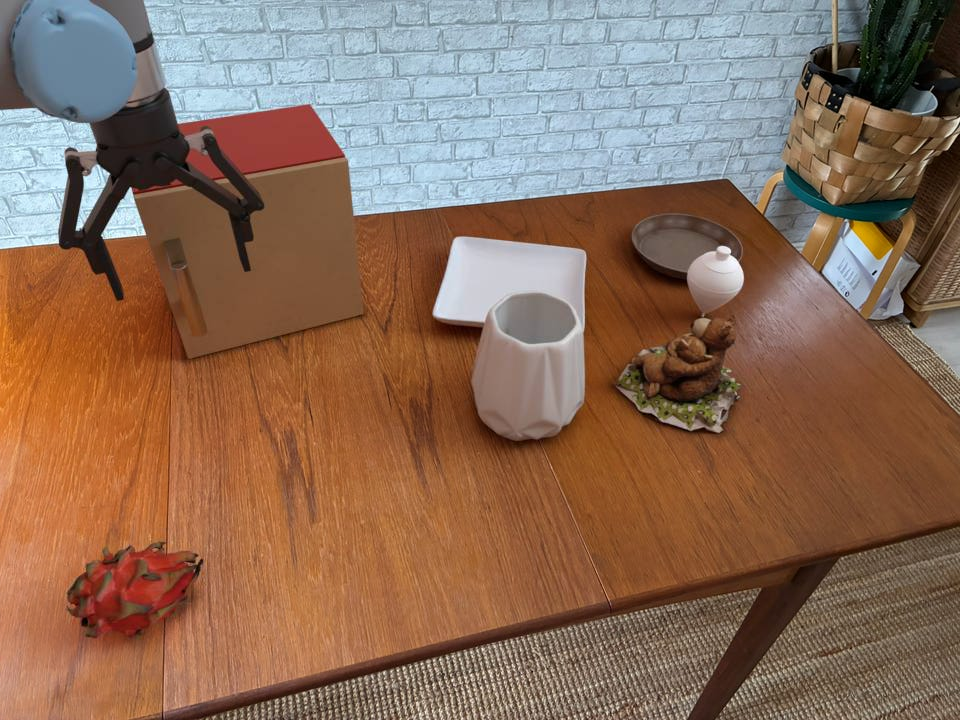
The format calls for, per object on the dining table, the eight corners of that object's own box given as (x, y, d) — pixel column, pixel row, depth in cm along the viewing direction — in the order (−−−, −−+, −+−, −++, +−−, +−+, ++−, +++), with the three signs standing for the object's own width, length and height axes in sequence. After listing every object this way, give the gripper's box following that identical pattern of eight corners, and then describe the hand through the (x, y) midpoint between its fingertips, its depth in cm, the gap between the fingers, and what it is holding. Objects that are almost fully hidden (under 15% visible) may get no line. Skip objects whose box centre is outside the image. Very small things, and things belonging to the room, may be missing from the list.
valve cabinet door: (378, 341, 98) (365, 184, 81) (196, 390, 89) (140, 228, 73) (361, 310, 102) (345, 156, 86) (187, 354, 94) (132, 194, 78)
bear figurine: (642, 340, 100) (660, 270, 91) (747, 381, 94) (776, 311, 86) (603, 399, 91) (619, 327, 83) (716, 447, 86) (745, 376, 77)
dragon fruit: (77, 635, 68) (208, 595, 73) (71, 675, 60) (218, 627, 65) (59, 551, 67) (193, 517, 72) (51, 581, 59) (202, 540, 64)
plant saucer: (621, 225, 122) (624, 210, 120) (722, 228, 122) (727, 213, 120) (638, 287, 109) (641, 271, 107) (751, 290, 109) (757, 274, 107)
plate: (584, 264, 113) (587, 246, 111) (581, 352, 98) (584, 333, 95) (453, 251, 114) (453, 233, 112) (430, 336, 99) (430, 317, 97)
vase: (509, 356, 96) (516, 265, 86) (600, 400, 91) (620, 309, 80) (447, 416, 88) (447, 323, 78) (543, 470, 82) (557, 377, 72)
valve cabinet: (361, 310, 103) (345, 154, 86) (187, 354, 95) (132, 192, 78) (329, 252, 113) (310, 103, 96) (170, 287, 105) (119, 132, 88)
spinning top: (712, 297, 108) (734, 230, 100) (738, 329, 102) (764, 261, 94) (667, 305, 106) (685, 237, 98) (692, 337, 101) (713, 268, 93)
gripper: (253, 60, 71) (286, 237, 86) (-29, 96, 63) (61, 286, 77) (270, 88, 66) (302, 271, 81) (-33, 131, 58) (63, 327, 73)
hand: (184, 279), depth 79 cm, fingers open, 13 cm apart
